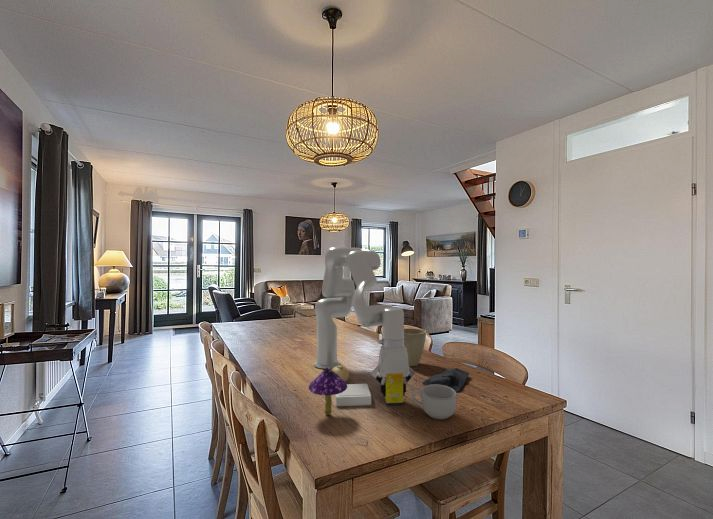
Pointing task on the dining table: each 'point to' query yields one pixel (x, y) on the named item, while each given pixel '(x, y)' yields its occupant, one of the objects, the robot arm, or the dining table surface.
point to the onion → (341, 372)
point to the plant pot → (414, 344)
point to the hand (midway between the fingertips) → (393, 394)
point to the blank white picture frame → (354, 395)
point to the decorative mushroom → (328, 386)
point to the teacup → (437, 400)
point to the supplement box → (394, 389)
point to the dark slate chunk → (449, 378)
